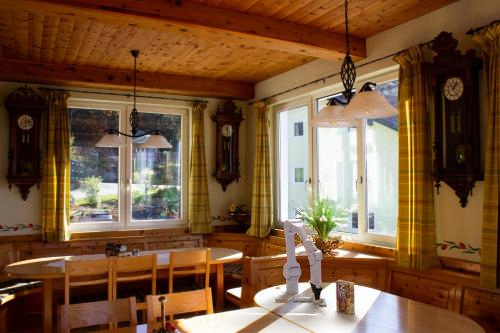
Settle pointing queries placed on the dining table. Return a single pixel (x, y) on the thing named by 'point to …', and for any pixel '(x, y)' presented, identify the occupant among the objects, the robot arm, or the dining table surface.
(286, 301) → the brown square backing plate
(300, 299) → the rack
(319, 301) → the u clip
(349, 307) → the candy box
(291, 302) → the dining table surface
